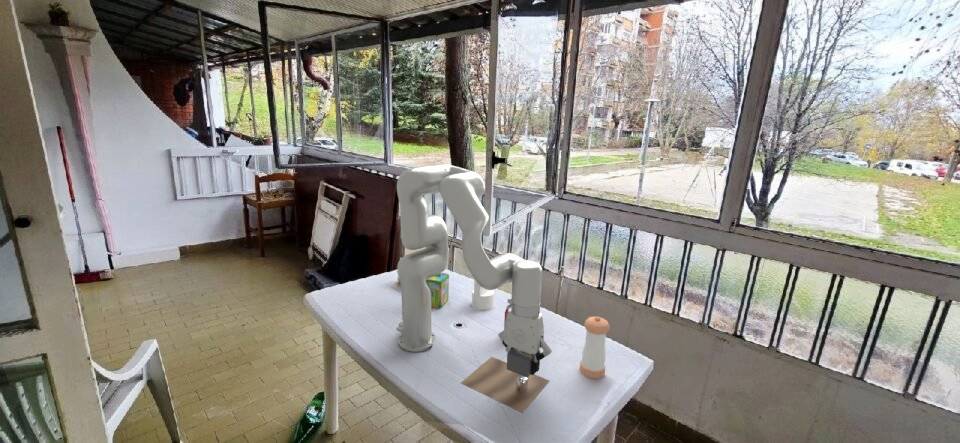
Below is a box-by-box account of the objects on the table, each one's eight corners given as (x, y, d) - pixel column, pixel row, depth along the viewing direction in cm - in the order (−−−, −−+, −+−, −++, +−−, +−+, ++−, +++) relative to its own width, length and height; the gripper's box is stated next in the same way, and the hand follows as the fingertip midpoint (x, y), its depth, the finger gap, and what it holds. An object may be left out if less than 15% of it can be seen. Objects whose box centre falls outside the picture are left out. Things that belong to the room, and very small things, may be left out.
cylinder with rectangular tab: (480, 298, 172) (481, 271, 168) (498, 304, 167) (499, 276, 163) (467, 305, 164) (467, 278, 161) (485, 312, 159) (486, 283, 156)
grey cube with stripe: (506, 369, 111) (507, 352, 109) (518, 358, 116) (519, 341, 115) (527, 378, 107) (528, 360, 106) (538, 366, 112) (539, 349, 111)
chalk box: (419, 305, 164) (419, 271, 160) (428, 296, 172) (428, 263, 169) (441, 309, 161) (440, 274, 158) (449, 299, 170) (449, 265, 166)
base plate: (460, 387, 116) (460, 382, 115) (491, 360, 128) (491, 356, 128) (522, 417, 105) (522, 412, 104) (549, 385, 117) (550, 380, 117)
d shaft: (514, 389, 113) (515, 379, 112) (519, 384, 115) (519, 374, 114) (522, 393, 112) (523, 382, 111) (527, 388, 114) (527, 378, 113)
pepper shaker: (589, 385, 118) (595, 325, 113) (574, 370, 124) (579, 313, 119) (609, 379, 121) (616, 320, 116) (593, 365, 127) (599, 309, 122)
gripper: (490, 303, 109) (488, 363, 113) (549, 322, 99) (545, 387, 104) (504, 294, 115) (503, 351, 119) (562, 311, 105) (558, 372, 110)
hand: (522, 367), depth 112 cm, fingers closed on grey cube with stripe, 6 cm apart
